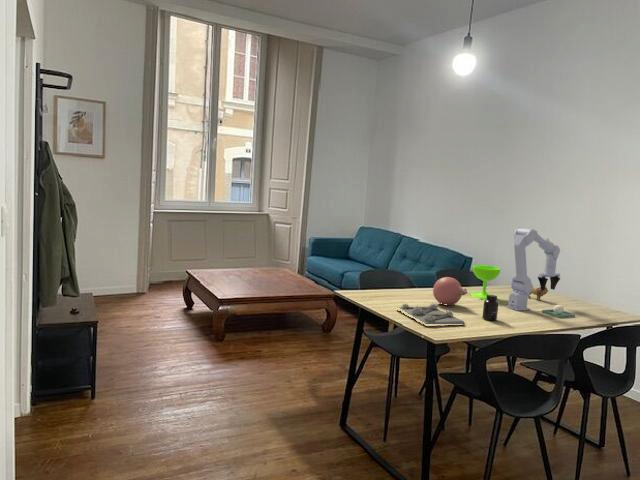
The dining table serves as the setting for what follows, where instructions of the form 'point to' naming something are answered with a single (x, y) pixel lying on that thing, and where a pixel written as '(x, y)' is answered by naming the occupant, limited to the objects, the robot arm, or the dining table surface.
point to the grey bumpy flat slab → (431, 314)
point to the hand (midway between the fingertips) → (547, 289)
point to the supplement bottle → (490, 308)
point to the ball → (558, 309)
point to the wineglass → (484, 277)
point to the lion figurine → (538, 292)
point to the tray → (563, 315)
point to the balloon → (448, 291)
